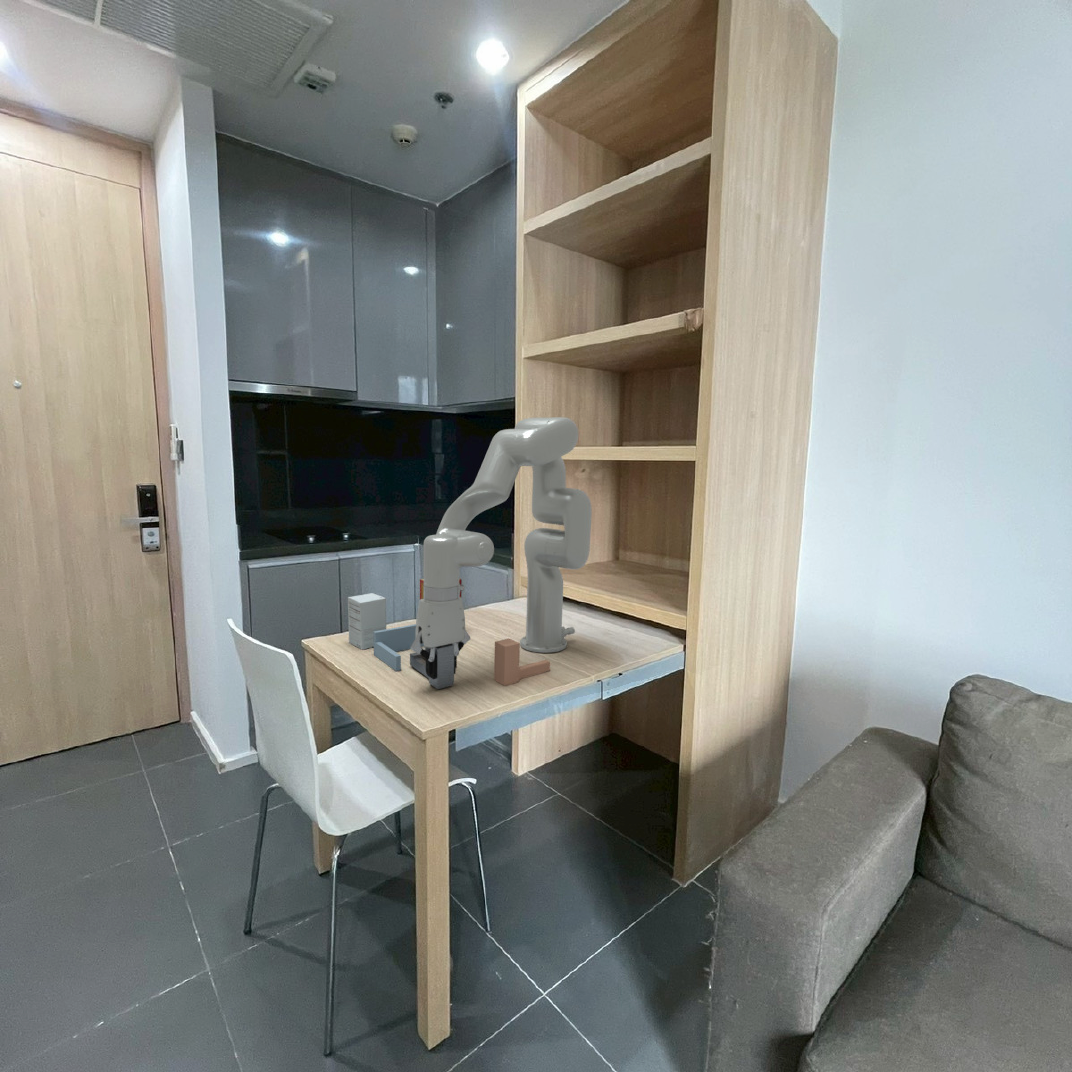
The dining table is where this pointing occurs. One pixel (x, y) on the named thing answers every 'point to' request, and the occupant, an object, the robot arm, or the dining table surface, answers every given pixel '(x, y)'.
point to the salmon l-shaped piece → (513, 663)
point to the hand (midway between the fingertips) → (441, 673)
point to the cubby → (393, 644)
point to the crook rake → (437, 666)
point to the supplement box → (365, 619)
